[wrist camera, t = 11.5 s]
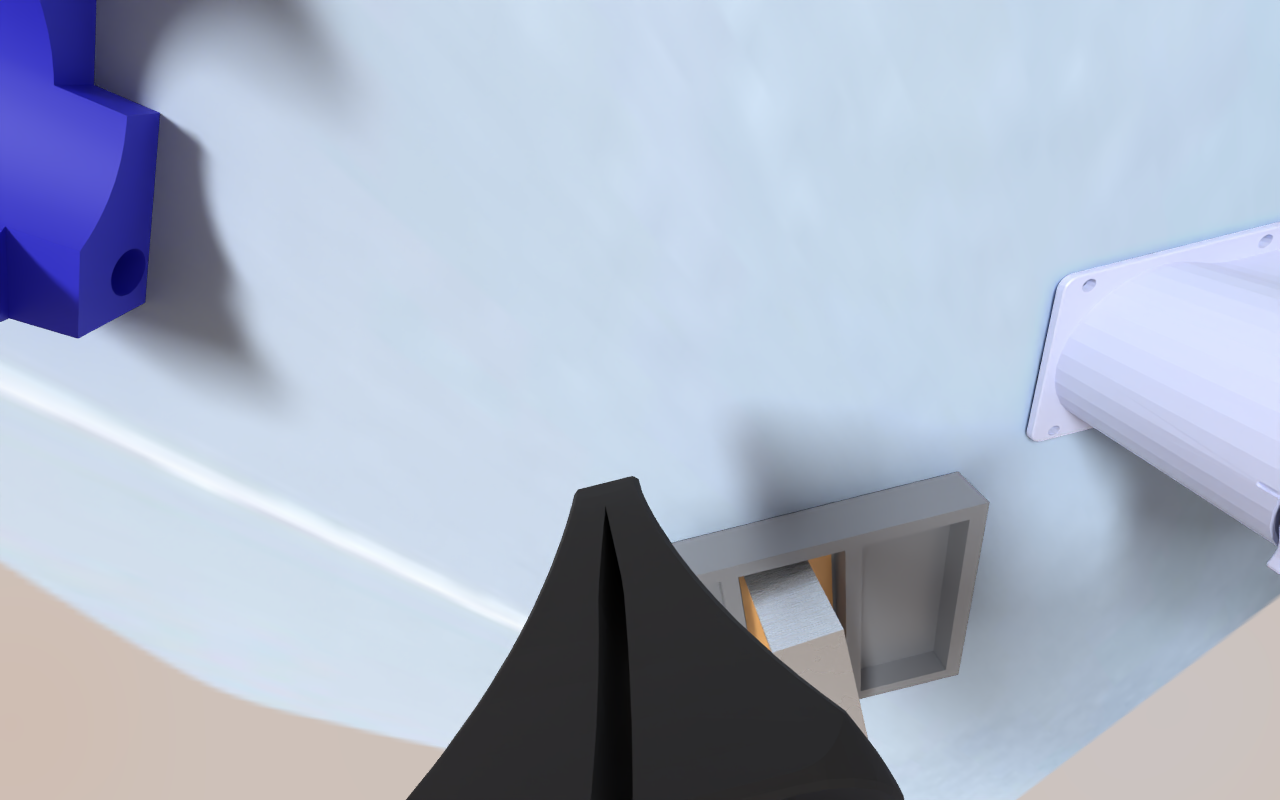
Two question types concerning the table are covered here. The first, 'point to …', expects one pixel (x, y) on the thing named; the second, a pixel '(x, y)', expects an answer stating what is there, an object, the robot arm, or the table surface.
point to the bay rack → (868, 574)
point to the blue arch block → (69, 175)
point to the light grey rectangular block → (806, 632)
